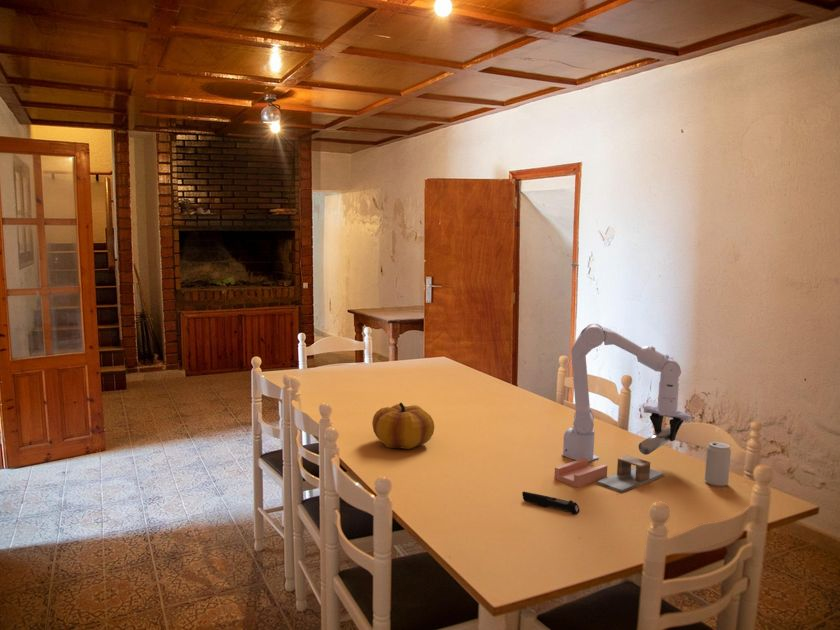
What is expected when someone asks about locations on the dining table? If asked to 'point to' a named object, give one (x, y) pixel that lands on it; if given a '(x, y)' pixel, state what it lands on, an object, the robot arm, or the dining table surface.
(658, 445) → the axle
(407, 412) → the decorative pumpkin
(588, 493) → the dining table surface
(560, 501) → the electric trimmer
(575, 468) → the cradle
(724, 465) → the beverage can
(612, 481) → the arched stand
